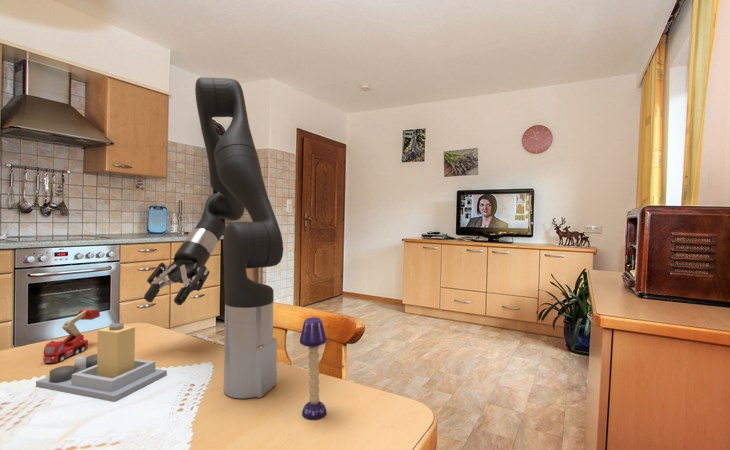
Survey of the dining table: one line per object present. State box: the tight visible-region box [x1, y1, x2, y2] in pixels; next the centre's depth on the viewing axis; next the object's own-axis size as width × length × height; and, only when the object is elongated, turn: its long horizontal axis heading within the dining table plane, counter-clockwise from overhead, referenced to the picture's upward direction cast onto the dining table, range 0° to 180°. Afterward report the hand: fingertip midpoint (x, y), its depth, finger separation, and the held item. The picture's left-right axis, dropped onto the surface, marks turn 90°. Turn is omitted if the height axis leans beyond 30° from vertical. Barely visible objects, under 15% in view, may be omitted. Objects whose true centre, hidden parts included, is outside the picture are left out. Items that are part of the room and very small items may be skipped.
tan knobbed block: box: [96, 322, 136, 379], centre depth 75 cm, size 5×4×11 cm
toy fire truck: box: [42, 309, 101, 364], centre depth 90 cm, size 3×14×10 cm, turn 179°
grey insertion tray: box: [35, 353, 168, 402], centre depth 76 cm, size 20×12×4 cm, turn 74°
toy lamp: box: [299, 316, 328, 421], centre depth 64 cm, size 5×5×17 cm
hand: (161, 301), depth 86 cm, fingers open, 8 cm apart
